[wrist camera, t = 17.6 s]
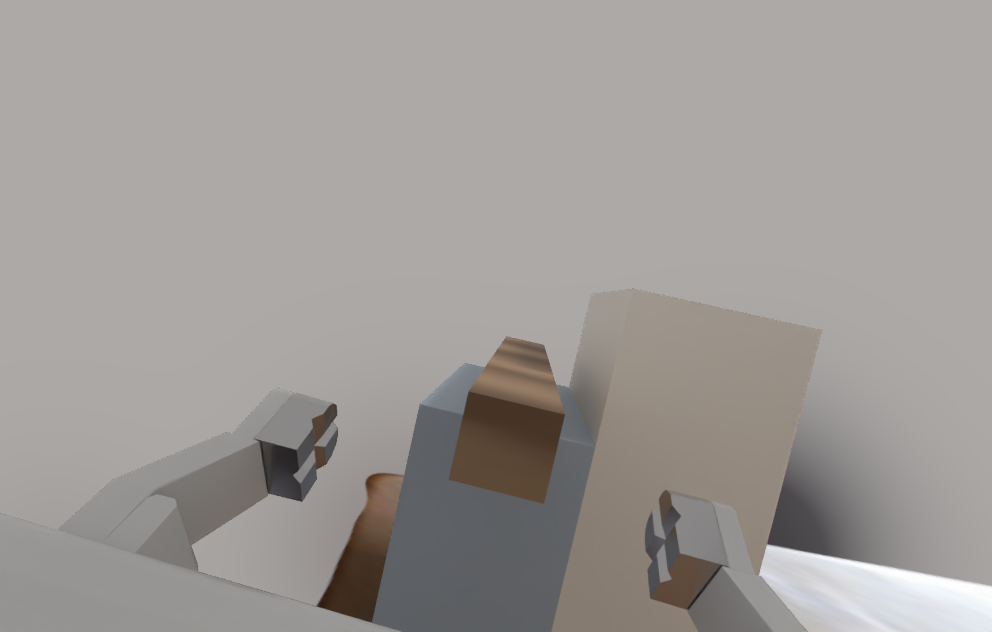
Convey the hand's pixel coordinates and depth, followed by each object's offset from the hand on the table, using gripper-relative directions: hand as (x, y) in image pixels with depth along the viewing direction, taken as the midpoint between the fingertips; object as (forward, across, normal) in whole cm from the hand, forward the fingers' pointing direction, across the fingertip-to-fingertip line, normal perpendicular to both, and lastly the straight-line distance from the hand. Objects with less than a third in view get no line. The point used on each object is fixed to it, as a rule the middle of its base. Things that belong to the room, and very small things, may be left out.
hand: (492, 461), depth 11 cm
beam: (+13, 0, +10) cm, 16 cm away
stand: (+7, -5, +27) cm, 29 cm away
